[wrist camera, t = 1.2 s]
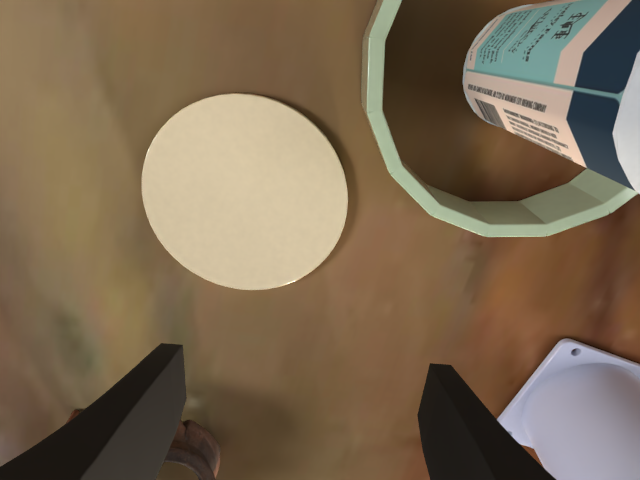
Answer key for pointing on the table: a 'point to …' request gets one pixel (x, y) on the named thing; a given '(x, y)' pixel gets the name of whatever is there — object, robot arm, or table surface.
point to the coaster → (244, 191)
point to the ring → (491, 216)
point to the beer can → (564, 81)
